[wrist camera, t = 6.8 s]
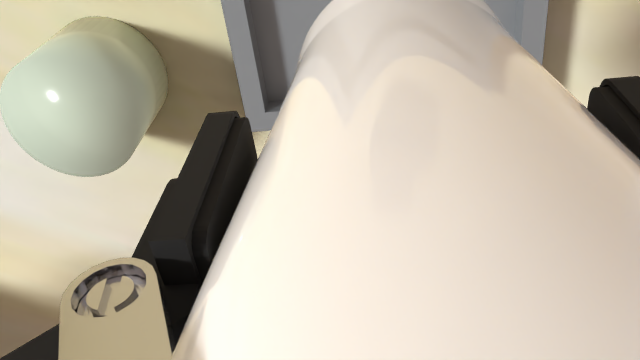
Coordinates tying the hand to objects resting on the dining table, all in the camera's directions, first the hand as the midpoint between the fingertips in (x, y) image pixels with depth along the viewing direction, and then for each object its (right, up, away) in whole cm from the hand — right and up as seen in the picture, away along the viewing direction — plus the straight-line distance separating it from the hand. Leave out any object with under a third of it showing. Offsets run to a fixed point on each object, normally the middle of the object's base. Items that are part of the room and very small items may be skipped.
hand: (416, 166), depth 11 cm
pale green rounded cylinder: (-13, +5, +18) cm, 23 cm away
